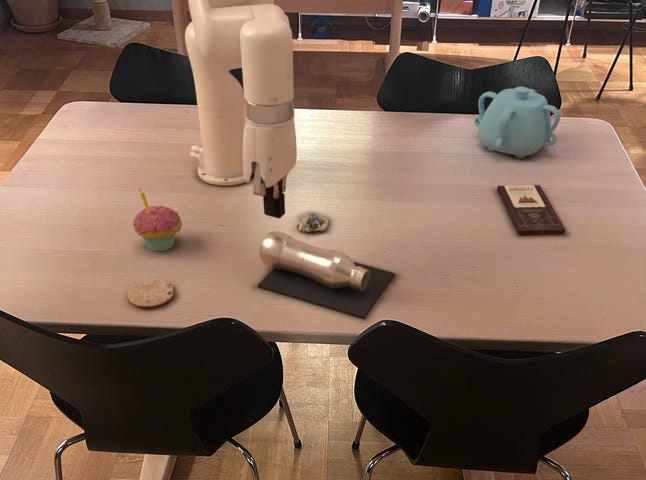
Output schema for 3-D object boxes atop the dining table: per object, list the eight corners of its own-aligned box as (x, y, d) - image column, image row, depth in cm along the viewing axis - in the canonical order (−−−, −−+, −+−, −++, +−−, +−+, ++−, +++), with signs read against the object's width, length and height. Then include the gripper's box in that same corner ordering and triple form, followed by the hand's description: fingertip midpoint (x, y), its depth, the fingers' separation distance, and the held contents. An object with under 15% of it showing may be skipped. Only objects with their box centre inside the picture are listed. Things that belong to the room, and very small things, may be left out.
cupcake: (144, 261, 130) (133, 201, 122) (131, 238, 135) (120, 180, 127) (190, 249, 133) (182, 190, 125) (175, 228, 138) (167, 170, 130)
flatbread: (174, 306, 119) (173, 301, 119) (128, 311, 118) (126, 306, 118) (172, 278, 125) (171, 273, 125) (128, 283, 124) (127, 278, 124)
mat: (257, 287, 124) (257, 285, 124) (295, 247, 134) (295, 245, 133) (363, 319, 118) (363, 316, 118) (395, 275, 127) (395, 272, 127)
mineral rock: (298, 236, 137) (297, 227, 135) (291, 215, 143) (291, 206, 141) (332, 233, 138) (333, 224, 136) (325, 212, 144) (325, 204, 142)
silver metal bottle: (259, 271, 128) (358, 307, 121) (251, 245, 123) (354, 281, 116) (277, 246, 131) (375, 279, 124) (270, 220, 125) (372, 253, 118)
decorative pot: (486, 164, 161) (496, 104, 152) (468, 133, 173) (476, 76, 164) (556, 161, 162) (570, 102, 153) (534, 131, 174) (546, 74, 165)
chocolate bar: (519, 230, 137) (497, 185, 151) (518, 235, 138) (497, 189, 151) (565, 229, 138) (539, 185, 151) (564, 234, 138) (538, 189, 152)
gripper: (272, 87, 116) (276, 190, 128) (222, 121, 106) (232, 230, 118) (313, 96, 114) (314, 200, 126) (266, 131, 103) (272, 241, 116)
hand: (274, 214), depth 122 cm, fingers closed
